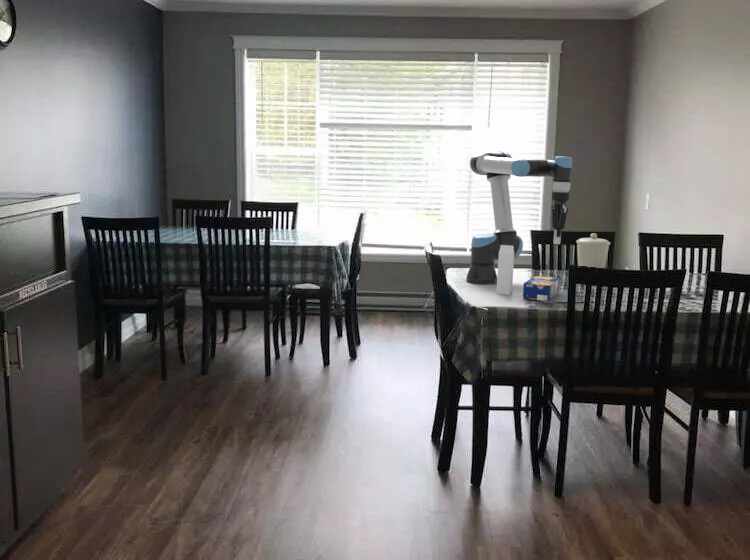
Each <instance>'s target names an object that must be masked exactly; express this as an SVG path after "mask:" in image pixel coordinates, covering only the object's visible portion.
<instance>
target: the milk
mask: <svg viewBox="0 0 750 560" xmlns="http://www.w3.org/2000/svg"><path fill="white" fill-rule="evenodd" d="M497 263H498V264H497V283H496V291H495V292H496V293H499V294H498V295H502V294H508V295H507V296H510V295H511V294H513V282H514V281H513V280H514V264H515V259H514V246H509V245H501V246H500V251H499V258H498V260H497Z"/></svg>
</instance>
